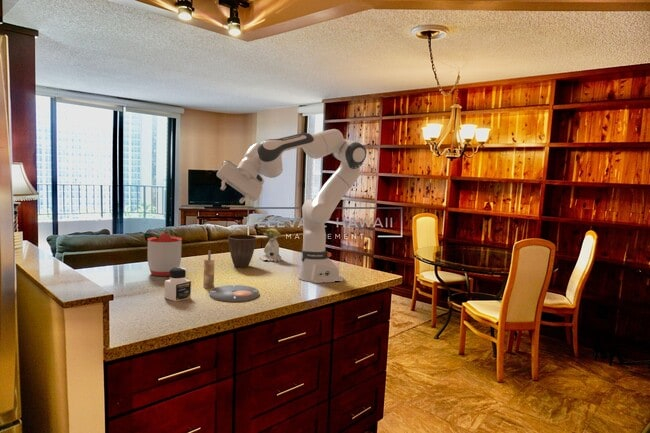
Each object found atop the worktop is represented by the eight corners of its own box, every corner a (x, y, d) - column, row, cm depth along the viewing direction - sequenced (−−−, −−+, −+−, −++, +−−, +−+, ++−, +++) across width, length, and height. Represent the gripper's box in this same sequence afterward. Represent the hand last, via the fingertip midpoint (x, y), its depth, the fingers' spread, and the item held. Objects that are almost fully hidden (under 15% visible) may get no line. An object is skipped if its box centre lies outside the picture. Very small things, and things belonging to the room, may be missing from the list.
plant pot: (261, 266, 227) (262, 237, 225) (241, 271, 214) (243, 240, 212) (241, 262, 235) (242, 233, 233) (221, 266, 222) (222, 236, 220)
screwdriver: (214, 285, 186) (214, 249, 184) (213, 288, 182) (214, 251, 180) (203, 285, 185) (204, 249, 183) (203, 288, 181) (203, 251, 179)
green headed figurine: (276, 256, 254) (278, 226, 252) (284, 261, 243) (286, 230, 241) (257, 257, 249) (258, 227, 247) (265, 262, 237) (266, 230, 235)
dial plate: (257, 287, 186) (257, 284, 186) (260, 301, 167) (260, 298, 166) (210, 287, 182) (210, 284, 181) (208, 302, 162) (208, 298, 162)
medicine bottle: (176, 302, 160) (176, 271, 159) (164, 298, 164) (164, 268, 163) (190, 297, 166) (191, 268, 165) (179, 294, 170) (179, 265, 169)
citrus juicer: (176, 268, 213) (176, 229, 211) (185, 276, 199) (186, 234, 197) (143, 270, 205) (143, 230, 202) (150, 279, 190) (150, 235, 188)
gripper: (228, 155, 177) (213, 178, 170) (267, 183, 184) (254, 206, 177) (223, 161, 182) (207, 184, 175) (261, 188, 189) (248, 211, 181)
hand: (231, 195), depth 176 cm, fingers open, 8 cm apart
